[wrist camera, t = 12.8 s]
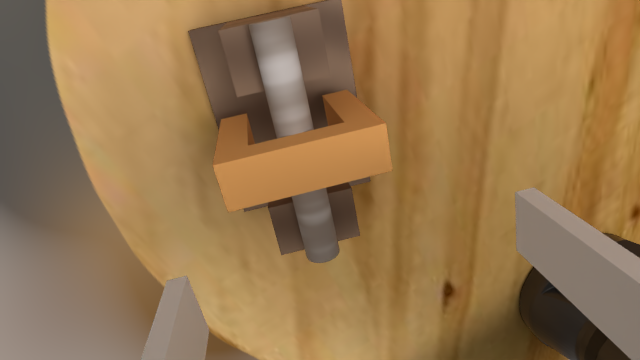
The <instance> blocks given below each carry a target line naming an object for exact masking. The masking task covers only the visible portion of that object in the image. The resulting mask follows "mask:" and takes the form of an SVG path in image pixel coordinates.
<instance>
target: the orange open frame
mask: <svg viewBox="0 0 640 360" xmlns="http://www.w3.org/2000/svg"><path fill="white" fill-rule="evenodd" d="M322 97H323V102H324V107H325V112H326V117H327V123H328V126H327V127H323V128H319V129H315V130H311V131H306V132H302V133H298V134H294V135H290V136H286V137H282V138H278V139H273V140H269V141H265V142H261V143H257V144H255V142H254V138H253V134H252V131H251V127H250V123H249V120H248V116H247V113H246V114H242V115H237V116H233V117H229V118H225V119H221V122H220V128H219V133H218V139H217V144H216V150H215V155H214V161H213V168H214V171H215V174H216V177H217V181H218V184H219V187H220V190H221V193H222V196H223V199H224V202H225V205H226V208H227V211H228V212H232V211H236V210H240V209H244V208H247V207H251V206H255V205H259V204H263V203H267V202H271V201H275V200H279V199H283V198H287V197H291V196H295V195H299V194H303V193H307V192H311V191H315V190H319V189H322V188H326V187H330V186H334V185H338V184H342V183H346V182H350V181H354V180H358V179H362V178H366V177H370V176H374V175H378V174H382V173H386V172H390V171H393V170H392V163H391V155H390V148H389V141H388V133H387V126H386V123H385V122H384V121H383V120H382V119H381V118H379V117H378V116H377V115H376V114H375V113H374V112H372V111H371V110H370V109H369V108H368V107H367V106H365V105H364V104H363V103H362V102H361V101H360V100H358V99H357V98H356V97H355V96H354V95H353V94H351V93H350V92H349V91H348V90H343V91H339V92H334V93H330V94H326V95H322Z"/></svg>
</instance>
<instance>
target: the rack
mask: <svg viewBox="0 0 640 360" xmlns="http://www.w3.org/2000/svg"><path fill="white" fill-rule="evenodd" d="M188 32H189V35H190V38H191V42H192V45H193V48H194V51H195V55H196V58H197V61H198V64H199V67H200V71H201V74H202V77H203V80H204V84H205V87H206V90H207V93H208V97H209V100H210V103H211V106H212V109H213V113H214V116H215V119H216V122H217V126H218V129H219V128H220V122H221V119H225V118H229V117H233V116H237V115H242V114H246V113H247V116H248V120H249V123H250V127H251V131H252V134H253V138H254V142H255V144H257V143H261V142H265V141H269V140H273V139H278V138H282V137H286V136H290V135H294V134H298V133H302V132H306V131H311V130H315V129H319V128H323V127H327V126H328V123H327V117H326V112H325V107H324V102H323V97H322V95H326V94H330V93H334V92H339V91H343V90H348V91H349V92H350V93H351V94H353V95H354V96H355V97H356V98H357V94H356V88H355V82H354V76H353V70H352V63H351V57H350V51H349V45H348V39H347V33H346V26H345V20H344V14H343V8H342V2H341V0H325V1H321V2H316V3H312V4H307V5H302V6H298V7H293V8H289V9H284V10H280V11H275V12H270V13H266V14H261V15H257V16H252V17H248V18H243V19H238V20H234V21H229V22H225V23H220V24H216V25H211V26H206V27H202V28H197V29H193V30H190V31H188ZM365 182H370V177H366V178H362V179H358V180H354V181H350V182H346V183H342V184H338V185H334V186H330V187H326V188H322V189H319V190H315V191H311V192H307V193H303V194H299V195H295V196H291V197H287V198H283V199H279V200H275V201H271V202H267V203H263V204H259V205H255V206H251V207H247V208H244V212H246V211H250V210H254V209H258V208H262V207H266V206H268V209H269V212H270V216H271V219H272V223H273V227H274V230H275V234H276V237H277V241H278V244H279V248H280V251H281V255H284V254H288V253H292V252H296V251H300V250H304V249H305V252H306V256H307V258H308V260H310V261H311V262H315V263H323V262H327V261H330V260H332V259H334V258H335V257H336V256H337V255H338V254H339V246H338V241H340V240H344V239H348V238H352V237H356V236H360V232H359V227H358V222H357V216H356V211H355V205H354V200H353V194H352V189H351V186H353V185H357V184H361V183H365Z"/></svg>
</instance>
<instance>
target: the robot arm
mask: <svg viewBox="0 0 640 360" xmlns="http://www.w3.org/2000/svg"><path fill="white" fill-rule="evenodd" d="M515 203H516V245H517V251H518V252H519V253H520V254H521V255H522V256H523V257H524V258H525V259H526V260H527V261H529V262H530V263H531V264H532V265H533V266H534V267H535V268H534V269H533V270H532V272H531V273H530V275H529V276H528V278H527V280H526V282H525V284H524V286H523V289H522V292H521V296H520V313H521V316H522V319H523V321H524V322H525V324H526V325H527V326H528V328H529V329H530V330H531V331H532V332H533V334H534V335H535V336H536V337H537V338H538V339H539V340H540V341H541V342H543V343H544V344H545V345H547V346H549V347H551V348H553V349H555V350H556V351H558V352H559V353H561V354H562V355H564V356H565V357H567V358H568V359H570V360H640V245H639V244H636V243H634V242H631V241H628V240H625V239H623V238H621V237H619V236H616V235H612V234H603V233H601V232H600V231H598V230H597V229H595V228H594V227H592V226H591V225H589V224H588V223H586V222H585V221H583V220H582V219H580V218H579V217H577V216H576V215H574V214H573V213H571V212H570V211H568V210H567V209H565V208H564V207H562V206H561V205H559V204H558V203H556V202H555V201H553V200H552V199H550V198H549V197H547V196H546V195H544V194H543V193H541V192H540V191H538V190H537V189H535V188H534V187H533V188H529V189H525V190H521V191H518V192H515ZM208 335H209V328H208V326H207V323H206V321H205V319H204V316H203V314H202V311H201V309H200V306H199V304H198V302H197V299H196V297H195V294H194V292H193V290H192V287H191V285H190V282H189V280H188V277H187V276H183V277H180V278H176V279H172V280H168V281H167V282H166V285H165V288H164V291H163V294H162V297H161V300H160V303H159V306H158V309H157V312H156V315H155V318H154V321H153V324H152V327H151V330H150V333H149V337H148V339H147V342H146V345H145V348H144V352H143V355H142V358H141V360H205V355H206V348H207V341H208Z"/></svg>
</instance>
